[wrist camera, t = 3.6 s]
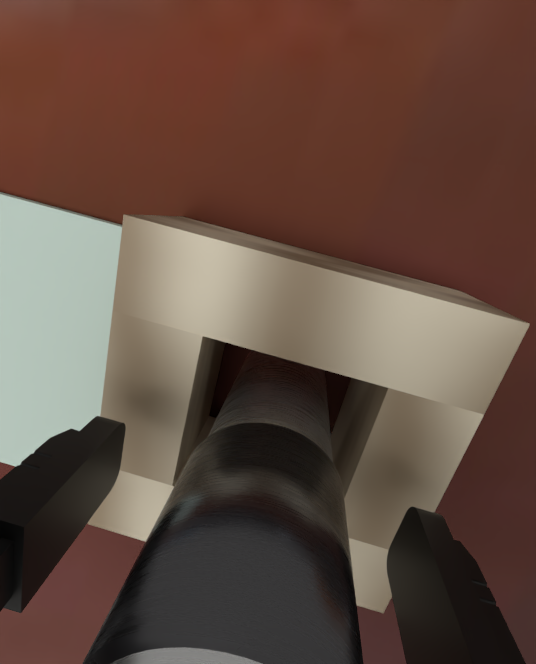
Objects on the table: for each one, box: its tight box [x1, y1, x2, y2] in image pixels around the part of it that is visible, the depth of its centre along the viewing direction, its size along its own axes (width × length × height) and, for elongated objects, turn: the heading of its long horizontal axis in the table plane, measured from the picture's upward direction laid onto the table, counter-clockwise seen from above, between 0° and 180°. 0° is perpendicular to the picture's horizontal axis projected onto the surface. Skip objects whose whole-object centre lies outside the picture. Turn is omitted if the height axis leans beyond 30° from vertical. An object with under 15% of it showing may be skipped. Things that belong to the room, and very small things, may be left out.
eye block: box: [88, 215, 530, 613], centre depth 15 cm, size 12×12×5 cm
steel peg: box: [83, 350, 363, 664], centre depth 9 cm, size 4×4×16 cm
